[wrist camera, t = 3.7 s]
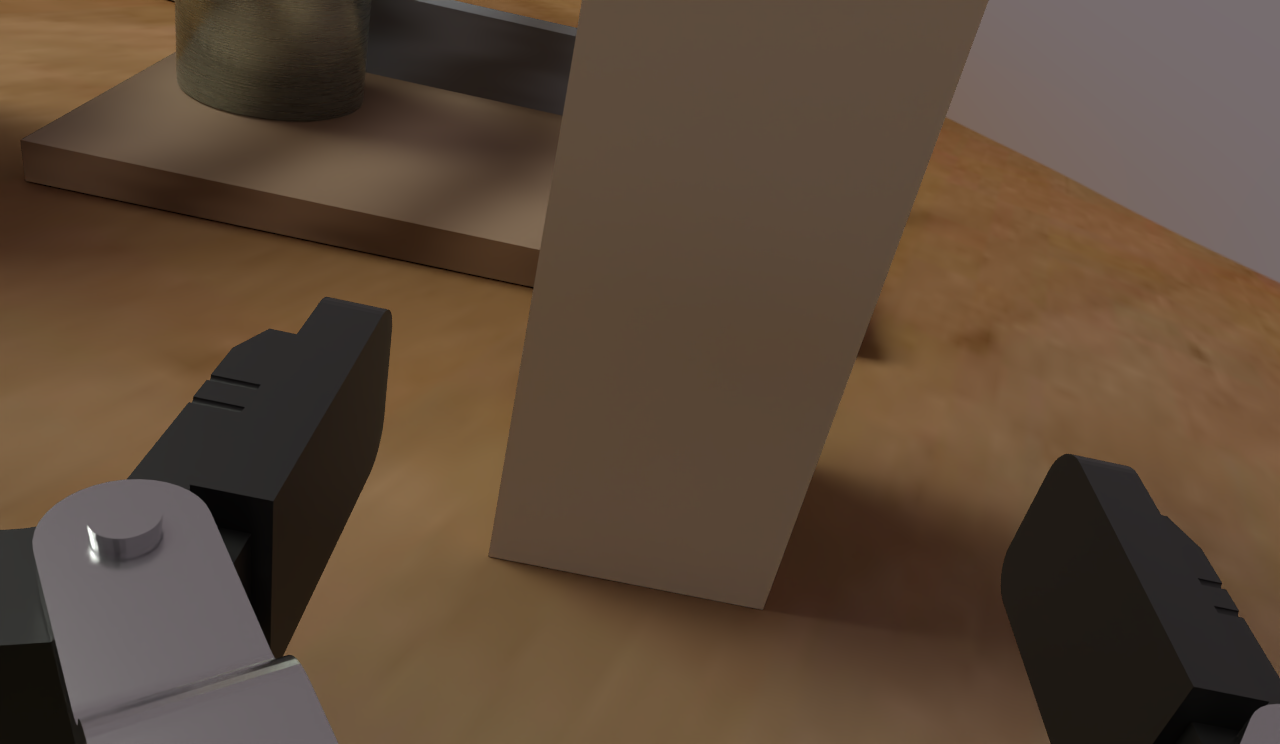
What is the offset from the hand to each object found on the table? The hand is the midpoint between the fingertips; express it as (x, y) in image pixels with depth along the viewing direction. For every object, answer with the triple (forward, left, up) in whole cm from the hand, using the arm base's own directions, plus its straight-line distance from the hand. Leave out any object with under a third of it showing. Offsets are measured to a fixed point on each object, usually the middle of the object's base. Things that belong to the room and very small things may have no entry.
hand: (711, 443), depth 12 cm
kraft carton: (0, +8, -7) cm, 10 cm away
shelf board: (-6, +23, -7) cm, 25 cm away
